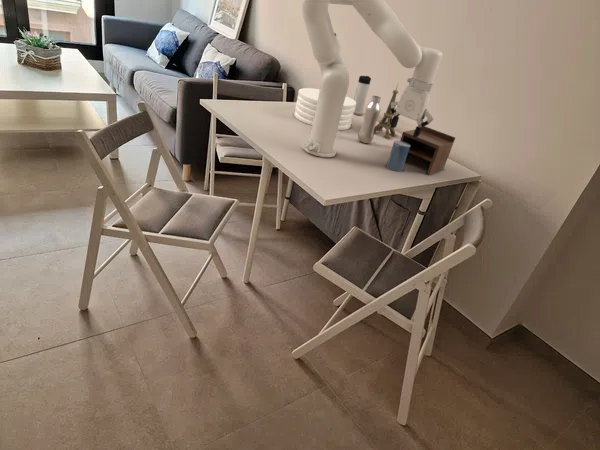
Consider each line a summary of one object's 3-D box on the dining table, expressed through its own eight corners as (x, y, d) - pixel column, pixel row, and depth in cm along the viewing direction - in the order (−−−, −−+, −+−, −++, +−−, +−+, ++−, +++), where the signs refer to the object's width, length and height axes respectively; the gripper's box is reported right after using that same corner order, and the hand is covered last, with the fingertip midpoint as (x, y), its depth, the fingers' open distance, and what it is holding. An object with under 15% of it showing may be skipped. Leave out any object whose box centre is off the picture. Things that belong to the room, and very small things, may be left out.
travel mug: (363, 114, 232) (373, 77, 222) (358, 116, 226) (368, 78, 217) (353, 111, 234) (362, 74, 224) (348, 112, 229) (357, 75, 219)
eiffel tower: (377, 129, 210) (392, 78, 198) (396, 135, 206) (413, 84, 194) (368, 131, 202) (383, 78, 190) (388, 139, 197) (405, 85, 185)
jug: (395, 173, 158) (404, 147, 153) (381, 166, 161) (389, 141, 156) (408, 168, 165) (416, 144, 160) (394, 162, 168) (402, 138, 164)
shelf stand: (428, 175, 163) (441, 141, 156) (393, 160, 171) (404, 127, 165) (443, 169, 173) (455, 137, 167) (409, 155, 181) (420, 124, 175)
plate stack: (351, 119, 216) (356, 97, 211) (349, 134, 192) (356, 109, 186) (298, 107, 217) (302, 84, 211) (290, 120, 192) (294, 95, 187)
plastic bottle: (371, 146, 182) (384, 100, 173) (356, 142, 183) (368, 96, 173) (371, 142, 188) (384, 97, 178) (357, 138, 188) (369, 93, 179)
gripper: (394, 78, 149) (379, 124, 157) (438, 93, 141) (419, 141, 149) (404, 78, 155) (389, 123, 163) (446, 93, 146) (428, 139, 154)
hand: (403, 132), depth 156 cm, fingers open, 9 cm apart
